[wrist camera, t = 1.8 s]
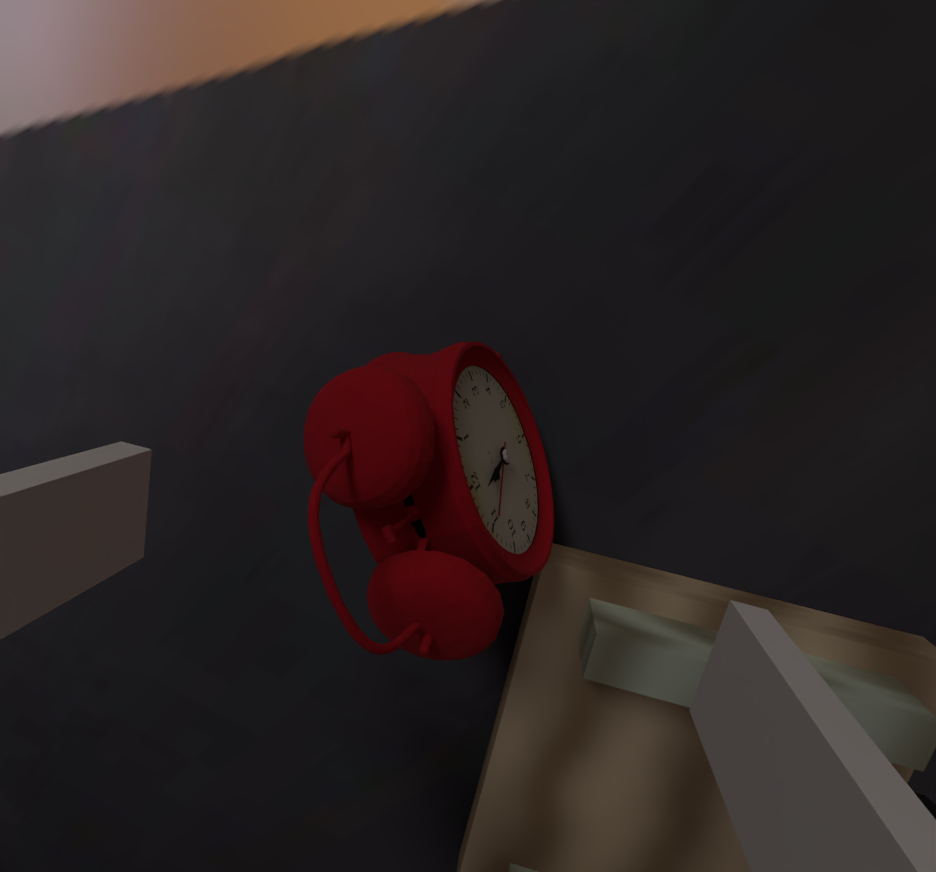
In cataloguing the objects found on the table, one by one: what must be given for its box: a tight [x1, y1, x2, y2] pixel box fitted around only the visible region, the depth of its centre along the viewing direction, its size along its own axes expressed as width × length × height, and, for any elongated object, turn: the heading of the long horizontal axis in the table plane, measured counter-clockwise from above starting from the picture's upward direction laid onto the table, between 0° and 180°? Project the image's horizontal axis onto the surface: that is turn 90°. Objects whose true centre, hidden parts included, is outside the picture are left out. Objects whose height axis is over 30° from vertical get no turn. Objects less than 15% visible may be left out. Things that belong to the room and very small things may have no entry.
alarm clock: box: [304, 341, 554, 660], centre depth 19 cm, size 10×6×15 cm, turn 20°
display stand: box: [457, 543, 936, 872], centre depth 26 cm, size 19×21×6 cm
